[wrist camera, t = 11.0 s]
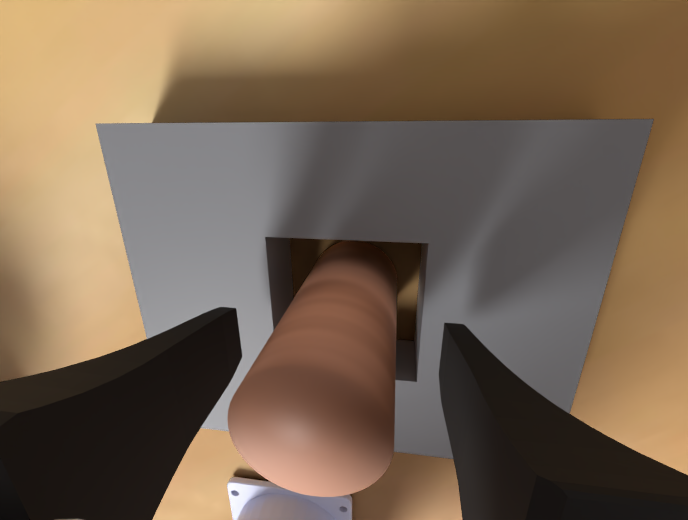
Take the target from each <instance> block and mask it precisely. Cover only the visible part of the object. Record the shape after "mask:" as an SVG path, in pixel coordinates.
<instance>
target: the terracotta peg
mask: <svg viewBox="0 0 688 520" xmlns="http://www.w3.org/2000/svg"><path fill="white" fill-rule="evenodd" d="M396 324H397V274H396V270H395V268H394V265H393V263H392V262H391V260H390V259H389V257H388V256H387V255H386V254H385V253H384V252H383V251H382V250H380V249H379V248H377V247H376V246H374V245H372V244H369V243H366V242H362V241H344V242H340V243H337V244H335V245H333V246H331V247H329V248H328V249H327V250H326V251H324V252H323V254H322V255H321V256H320V257H319V259H318V260H317V262H316V264H315V265H314V267H313V268H312V270H311V272H310V273H309V275H308V276H307V278H306V280H305V281H304V283H303V284H302V286H301V288H300V289H299V291H298V292H297V294H296V296H295V297H294V299H293V300H292V302H291V304H290V305H289V307H288V309H287V310H286V312H285V313H284V315H283V317H282V318H281V320H280V321H279V323H278V325H277V326H276V328H275V329H274V331H273V333H272V334H271V336H270V337H269V339H268V341H267V342H266V344H265V345H264V347H263V349H262V350H261V352H260V354H259V355H258V357H257V358H256V360H255V362H254V363H253V365H252V366H251V368H250V370H249V371H248V373H247V374H246V376H245V378H244V379H243V381H242V382H241V384H240V386H239V387H238V389H237V390H236V392H235V394H234V395H233V398H232V400H231V402H230V405H229V409H228V417H227V420H228V429H229V433H230V436H231V439H232V441H233V444H234V445H235V447H236V449H237V451H238V452H239V454H240V455H241V456H242V458H243V459H244V460H245V461H246V462H247V463H248V465H249V466H250V467H252V468H253V469H254V470H255V471H256V472H257V473H259V474H260V475H261V476H263V477H264V478H266V479H267V480H269V481H271V482H272V483H274V484H276V485H278V486H280V487H282V488H285V489H287V490H290V491H293V492H296V493H300V494H304V495H310V496H318V497H336V496H344V495H349V494H352V493H355V492H359V491H361V490H363V489H365V488H367V487H369V486H370V485H372V484H373V483H375V482H376V481H377V480H378V479H379V478H380V477H381V476H382V475H383V474H384V473H385V471H386V470H387V468H388V467H389V465H390V463H391V460H392V457H393V452H394V434H395V379H396Z"/></svg>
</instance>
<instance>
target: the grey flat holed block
mask: <svg viewBox="0 0 688 520" xmlns="http://www.w3.org/2000/svg"><path fill="white" fill-rule="evenodd" d="M653 120H654V119H595V120H475V121H355V122H235V123H114V124H96V128H97V132H98V136H99V140H100V144H101V149H102V153H103V157H104V161H105V165H106V170H107V174H108V178H109V182H110V186H111V190H112V195H113V199H114V203H115V207H116V211H117V216H118V220H119V224H120V228H121V232H122V236H123V241H124V245H125V249H126V253H127V257H128V261H129V266H130V270H131V274H132V278H133V282H134V287H135V291H136V295H137V299H138V303H139V307H140V312H141V316H142V320H143V324H144V328H145V332H146V337H147V339H148V338H151V337H153V336H155V335H157V334H160V333H162V332H164V331H167V330H169V329H171V328H173V327H175V326H177V325H180V324H182V323H184V322H186V321H188V320H190V319H192V318H194V317H197V316H199V315H201V314H203V313H205V312H208V311H210V310H213V309H215V308H218V307H229V308H236V310H237V318H238V326H239V333H240V341H241V349H242V359H241V361H240V363H239V365H238V368H237V370H236V372H235V374H234V376H233V378H232V380H231V382H230V383H229V385H228V387H227V388H226V390H225V391H224V393H223V394H222V396H221V397H220V399H219V401H218V402H217V404H216V405H215V407H214V408H213V410H212V411H211V413H210V414H209V416H208V417H207V419H206V420H205V422H204V423H203V425H202V426H201V428H205V429H213V430H221V431H229V429H228V420H227V417H228V409H229V405H230V402H231V400H232V398H233V395H234V394H235V392H236V390H237V389H238V387H239V386H240V384H241V382H242V381H243V379H244V378H245V376H246V374H247V373H248V371H249V370H250V368H251V366H252V365H253V363H254V362H255V360H256V358H257V357H258V355H259V354H260V352H261V350H262V349H263V347H264V345H265V344H266V342H267V341H268V339H269V337H270V336H271V334H272V333H273V331H274V329H275V328H276V326H277V325H278V323H279V321H280V320H281V318H282V317H283V315H284V313H285V312H286V310H287V309H288V307H289V305H290V304H291V302H292V300H293V299H294V296H293V280H292V264H291V248H290V238H306V239H331V240H356V241H381V242H407V243H422V245H421V258H420V271H419V284H418V297H417V310H416V323H415V336H414V341H409V340H396V379H395V434H394V452H400V453H409V454H417V455H425V456H433V457H441V458H449V459H453V454H452V450H451V445H450V441H449V436H448V432H447V427H446V423H445V418H444V413H443V409H442V404H441V396H440V385H439V366H440V357H441V348H442V339H443V330H444V323H457V324H464V325H465V326H466V327H467V328H468V329H469V330H470V331H471V332H472V333H473V334H474V335H475V336H476V337H477V338H478V339H479V340H480V341H481V343H482V344H483V345H484V346H485V347H486V348H487V349H488V350H489V351H490V352H491V353H492V354H493V355H494V356H496V357H497V358H498V359H499V360H500V361H501V362H502V363H503V364H504V365H505V366H506V367H507V368H509V369H510V370H511V371H512V372H513V373H514V374H516V375H517V376H518V377H519V378H520V379H521V380H523V381H524V382H525V383H526V384H528V385H529V386H530V387H532V388H533V389H534V390H536V391H537V392H538V393H540V394H541V395H542V396H544V397H545V398H547V399H548V400H549V401H551V402H552V403H554V404H555V405H557V406H558V407H560V408H561V409H563V410H564V411H566V412H567V413H569V414H570V410H571V407H572V403H573V400H574V396H575V393H576V389H577V386H578V382H579V379H580V375H581V372H582V368H583V365H584V361H585V358H586V354H587V351H588V347H589V344H590V340H591V337H592V334H593V330H594V327H595V323H596V320H597V316H598V313H599V309H600V306H601V302H602V299H603V295H604V292H605V288H606V285H607V281H608V278H609V274H610V271H611V267H612V264H613V260H614V257H615V253H616V250H617V246H618V243H619V239H620V236H621V232H622V229H623V225H624V222H625V218H626V215H627V211H628V208H629V204H630V201H631V197H632V194H633V190H634V187H635V183H636V180H637V176H638V173H639V169H640V166H641V162H642V159H643V155H644V152H645V148H646V145H647V141H648V138H649V134H650V131H651V127H652V124H653Z"/></svg>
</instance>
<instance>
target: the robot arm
mask: <svg viewBox="0 0 688 520" xmlns="http://www.w3.org/2000/svg"><path fill="white" fill-rule="evenodd" d="M241 359H242V349H241V341H240V333H239V326H238V318H237V310H236V308H229V307H218V308H215V309H213V310H210V311H208V312H205V313H203V314H201V315H199V316H197V317H194V318H192V319H190V320H188V321H186V322H184V323H182V324H180V325H177V326H175V327H173V328H171V329H169V330H167V331H164V332H162V333H160V334H157V335H155V336H153V337H151V338H148V339H146V340H144V341H141V342H139V343H137V344H134V345H132V346H129V347H126V348H124V349H121V350H118V351H115V352H112V353H110V354H107V355H104V356H101V357H98V358H95V359H91V360H88V361H84V362H81V363H77V364H74V365H71V366H67V367H64V368H60V369H56V370H52V371H48V372H44V373H40V374H36V375H31V376H26V377H22V378H17V379H12V380H7V381H2V382H0V520H152V519H153V517H154V515H155V512H156V510H157V508H158V506H159V504H160V502H161V500H162V498H163V496H164V494H165V492H166V490H167V488H168V486H169V484H170V481H171V479H172V477H173V476H174V474H175V472H176V470H177V468H178V466H179V464H180V462H181V460H182V458H183V456H184V454H185V453H186V451H187V449H188V447H189V445H190V444H191V442H192V440H193V439H194V437H195V435H196V434H197V432H198V431H199V429H200V428H201V426H202V425H203V423H204V422H205V420H206V419H207V417H208V416H209V414H210V413H211V411H212V410H213V408H214V407H215V405H216V404H217V402H218V401H219V399H220V397H221V396H222V394H223V393H224V391H225V390H226V388H227V387H228V385H229V383H230V382H231V380H232V378H233V376H234V374H235V372H236V370H237V368H238V365H239V363H240V361H241ZM439 385H440V396H441V404H442V409H443V413H444V418H445V423H446V427H447V432H448V436H449V441H450V445H451V450H452V454H453V459H454V463H455V468H456V473H457V479H458V485H459V493H460V501H461V510H462V518H463V520H688V475H686V474H684V473H682V472H679V471H677V470H675V469H673V468H671V467H669V466H666V465H664V464H662V463H660V462H658V461H655V460H653V459H651V458H649V457H647V456H645V455H642V454H640V453H638V452H636V451H634V450H633V449H631V448H629V447H627V446H625V445H623V444H621V443H619V442H617V441H615V440H614V439H612V438H610V437H608V436H606V435H604V434H602V433H601V432H599V431H597V430H595V429H594V428H592V427H590V426H588V425H587V424H585V423H583V422H582V421H580V420H579V419H577V418H575V417H574V416H572V415H571V414H569V413H567V412H566V411H564V410H563V409H561V408H560V407H558V406H557V405H555V404H554V403H552V402H551V401H549V400H548V399H547V398H545V397H544V396H542V395H541V394H540V393H538V392H537V391H536V390H534V389H533V388H532V387H530V386H529V385H528V384H526V383H525V382H524V381H523V380H521V379H520V378H519V377H518V376H517V375H516V374H514V373H513V372H512V371H511V370H510V369H509V368H507V367H506V366H505V365H504V364H503V363H502V362H501V361H500V360H499V359H498V358H497V357H496V356H494V355H493V354H492V353H491V352H490V351H489V350H488V349H487V348H486V347H485V346H484V345H483V344H482V343H481V341H480V340H479V339H478V338H477V337H476V336H475V335H474V334H473V333H472V332H471V331H470V330H469V329H468V328H467V327H466V326H465V325H464V324H457V323H444V330H443V339H442V348H441V357H440V366H439ZM227 488H228V494H229V500H230V505H231V511H232V517H233V520H352V497H351V496H350V495H344V496H336V497H318V496H310V495H304V494H300V493H296V492H293V491H290V490H287V489H285V488H282V487H280V486H278V485H276V484H274V483H272V482H269V481H262V480H254V479H247V478H240V477H232V478H230V479H229V481H228V484H227Z"/></svg>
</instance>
